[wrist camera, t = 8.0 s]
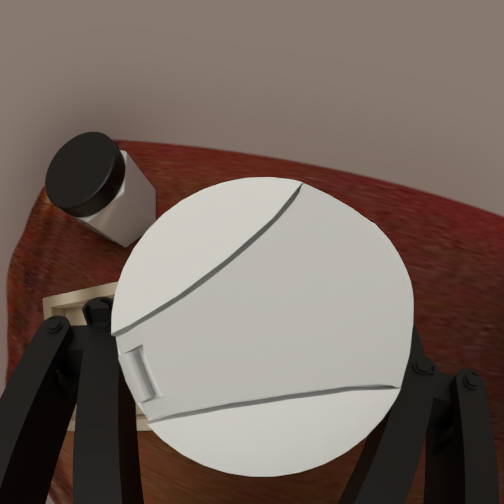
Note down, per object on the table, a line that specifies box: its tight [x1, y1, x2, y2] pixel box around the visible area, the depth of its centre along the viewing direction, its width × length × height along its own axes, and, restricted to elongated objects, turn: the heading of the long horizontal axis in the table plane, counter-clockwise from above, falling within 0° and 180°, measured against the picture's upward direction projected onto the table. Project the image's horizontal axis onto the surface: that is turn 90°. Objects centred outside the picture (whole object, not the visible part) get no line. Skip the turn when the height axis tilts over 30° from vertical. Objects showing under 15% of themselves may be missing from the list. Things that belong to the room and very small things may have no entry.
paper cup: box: [111, 177, 414, 477], centre depth 13 cm, size 8×8×14 cm
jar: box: [45, 132, 156, 248], centre depth 32 cm, size 9×8×12 cm
